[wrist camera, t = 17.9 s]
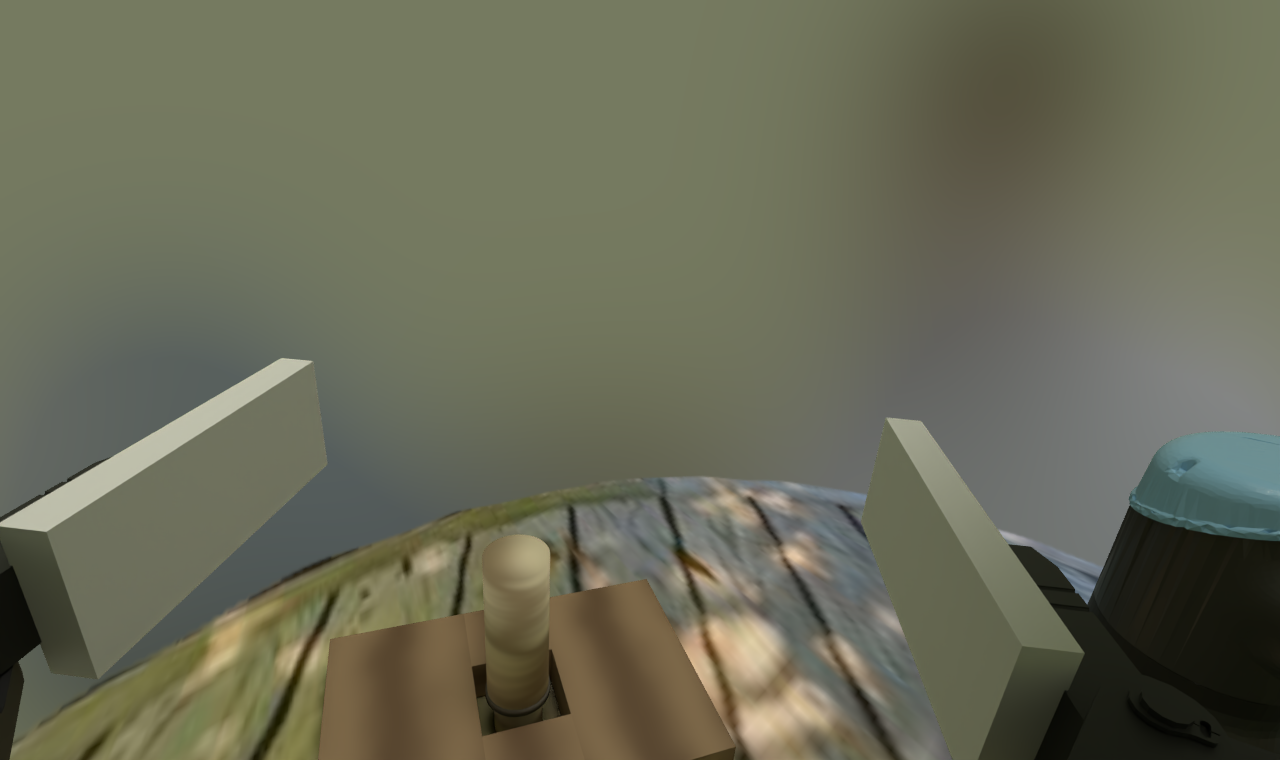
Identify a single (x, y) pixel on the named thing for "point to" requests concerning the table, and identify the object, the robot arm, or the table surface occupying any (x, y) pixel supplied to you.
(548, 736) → the board
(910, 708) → the table surface
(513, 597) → the peg
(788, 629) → the table surface
